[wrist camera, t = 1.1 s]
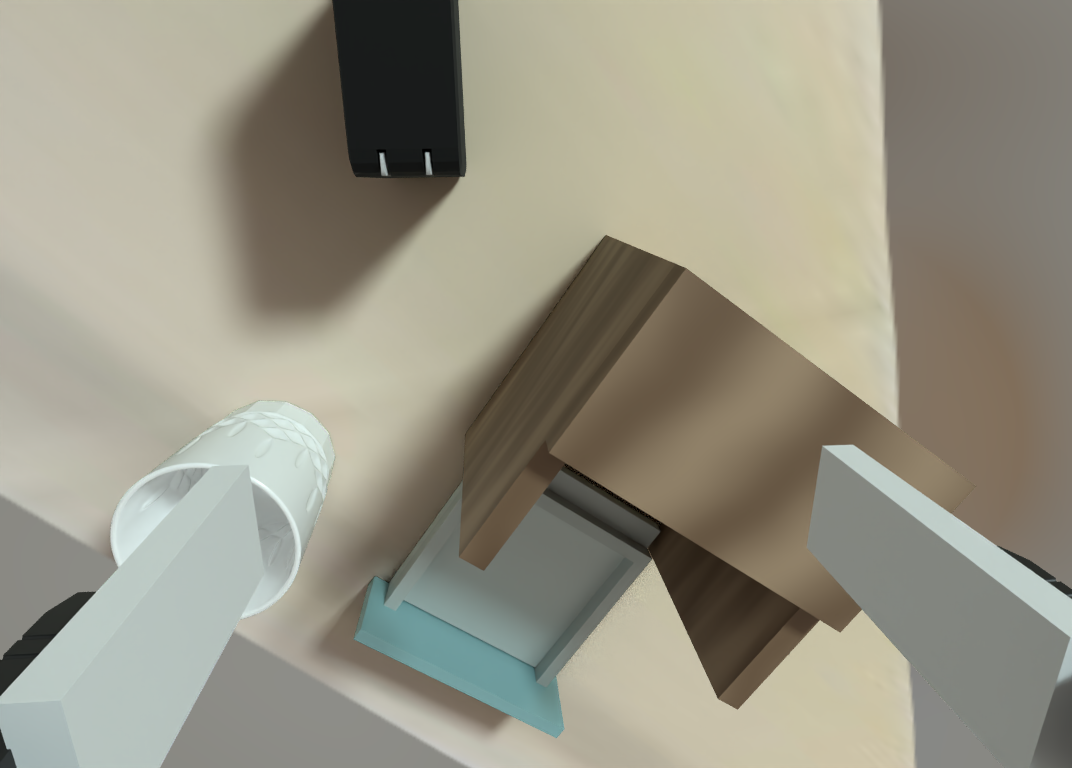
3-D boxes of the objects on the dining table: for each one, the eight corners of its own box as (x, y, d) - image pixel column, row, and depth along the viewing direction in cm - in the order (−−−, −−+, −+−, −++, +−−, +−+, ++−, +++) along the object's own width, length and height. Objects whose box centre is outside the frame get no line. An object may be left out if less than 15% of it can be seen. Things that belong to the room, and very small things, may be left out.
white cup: (359, 501, 38) (320, 606, 29) (228, 524, 38) (146, 637, 29) (326, 378, 36) (272, 448, 26) (186, 402, 36) (80, 481, 26)
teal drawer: (368, 585, 40) (353, 639, 35) (486, 418, 37) (487, 453, 33) (548, 677, 43) (556, 738, 39) (668, 530, 41) (693, 576, 36)
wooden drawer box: (465, 434, 38) (457, 575, 24) (605, 235, 35) (686, 268, 21) (660, 551, 41) (748, 731, 28) (801, 379, 38) (976, 486, 25)
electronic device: (456, -45, 30) (445, -148, 21) (466, 176, 33) (462, 174, 24) (366, -45, 30) (314, -150, 20) (385, 178, 33) (348, 176, 24)
